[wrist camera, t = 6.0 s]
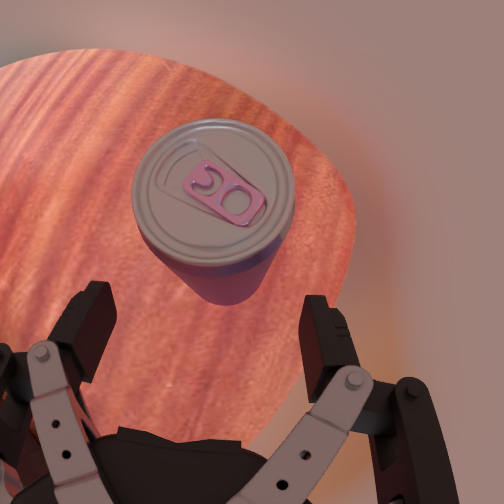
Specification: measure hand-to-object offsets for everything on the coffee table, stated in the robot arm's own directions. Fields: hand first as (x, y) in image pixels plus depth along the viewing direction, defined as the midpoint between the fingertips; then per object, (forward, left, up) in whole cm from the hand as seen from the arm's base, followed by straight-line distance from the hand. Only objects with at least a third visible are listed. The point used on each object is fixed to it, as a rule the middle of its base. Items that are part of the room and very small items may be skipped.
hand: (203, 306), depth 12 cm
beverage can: (+4, -2, -12) cm, 13 cm away
